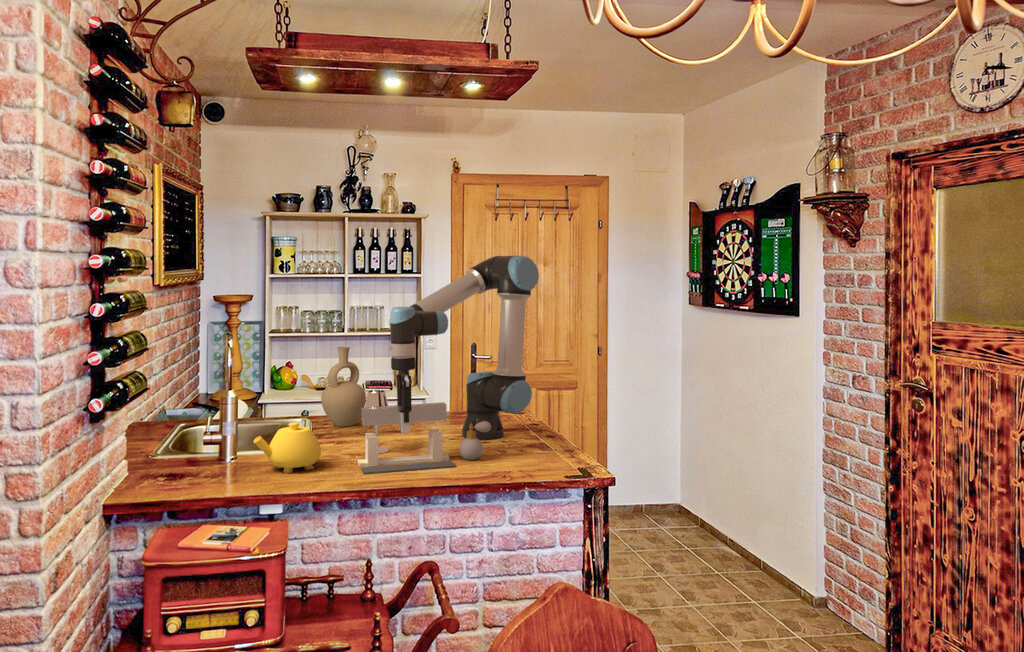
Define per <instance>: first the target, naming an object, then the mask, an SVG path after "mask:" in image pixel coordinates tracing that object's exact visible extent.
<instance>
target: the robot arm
mask: <svg viewBox="0 0 1024 652" xmlns="http://www.w3.org/2000/svg"><path fill="white" fill-rule="evenodd" d="M539 273H540V272H539V269H538V266H537V264H536V263H535V262H534V261H533V259H532V258H530V257H528V256H523V255H494V256H492V257H489V258H486V259H485V260H483V261H481V262H479V263H477V264H475V265H474V266H472V267H471V268H469V269H467V270H466V272H465V274H464V275H462V276H460V277H459V278H457V279H455V280H453V281H452V282H451V283H449V284H447V285H445V286H442V287H441V288H439V289H438V290H436V291H434V292H433V293H431V294H429V295H427V296H425V297H424V298H422V299H420V300H419V301H417V302H416V303H414V304H412V305H410V306H394V307H392V308H390V314H389V323H390V324H389V325H390V326H389V328H390V329H389V331H390V346H389V347H388V350H390V356H391V358H390V366H391V367H390V368H391V370H393V371H398V372H397V374H396V375H395V377H396V398H397V399H396V400H397V401H396V402H397V403H396V406H397V405H402V411H400V413H401V423H400V424H398V430H399V431H401V434H407V433H408V434H409V433H411V432H412V431H411V423H410V411H412V408H411V405H412V384H413V381H412V375H410V371H412V370H415V369H416V368H417V366H416V365H417V363H416V360H417V359H416V357H415V356H416V337H421V336H422V337H423V336H437V335H442V334H445V333H446V332H447V330H448V328H449V318H448V316H447V314H446V312H447V311H449V310H450V309H452V308H454V307H455V306H457V305H459V304H461V303H462V302H464V301H466V300H467V299H469V298H471V297H472V296H474V295H476V294H478V295H479V294H480V295H481V294H483V293H485V292H487V291H490V290H496V291H497V292H496V293H497V295H498V297H499V298H500V315H499V331H498V347H497V349H498V351H497V367H496V369H495V370H494V371H483V372H481V371H479V372H472V373H469V374H468V375H467V377H466V416H465V419H464V422H463V424H462V429H461V436H462V438H464V439H465V438H466V437H467V431H469V430H470V429H469V426H470V424H471V423H472V424H473V425H472V426H473V427H474V426H475V425H476V424H478V423H480V422H483V421H487V422H489V423H490V424H491V429H490V431H488V432H480V431H477V430H476V429H475V428H473V431H476V437H477V438H478V439H479V440H480V441H482V440H496V439H500V438H503V437H504V435H505V431H504V426H503V422H502V419H501V416H500V412H503V413H506V414H520V413H521V412H522V413H523V411H524V410H525V409H526V408H527V407H528V406H529V404H530V402H531V400H532V398H533V397H532V395H533V392H532V386H530V384H529V383H528V382H527V381H526V379H527V374H526V372H525V371H524V370H523V358H524V357H523V355H524V339H525V323H526V307H527V300H528V299H529V298H530V297H531V295H532V293H531V292H532V290H533V289H534V288H535V287H536V285H538V282H539V277H540V274H539Z"/></svg>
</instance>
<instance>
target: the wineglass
mask: <svg viewBox="0 0 1024 652" xmlns="http://www.w3.org/2000/svg"><path fill="white" fill-rule="evenodd" d="M382 406H389V403H388V398H387V394H386V391H385V390H383V389H372V390H371V389H370V390H368V391H367V396H366V403H365V407H364V408H367V407H382ZM379 426H380V425H373V427H375V437H376V436H378V437H379V428H380V427H379ZM388 452H389V448H386V447H381V446H380V445H379V444H378V455H381V454H384V453H385V454H386V453H388Z"/></svg>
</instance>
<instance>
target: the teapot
mask: <svg viewBox="0 0 1024 652" xmlns="http://www.w3.org/2000/svg"><path fill="white" fill-rule="evenodd" d="M253 443H254V444H255V445H256V446H257V447H258V448H259V449H260V450H261V451H262V453H264V454H265V455H266V456H267V459H268V461H269V462H270V463H271V464H272V466H275V468H276V469H283V471H282V473H284V474H291V473H293V470H294V468H304V470H306V469H312V470H314V469H315V466H313V465H314V464H316V463H317V462H318V460H319V459H320V458H321V456H322V450H321V449H322V448H321V446H320V443H319V440H318V439H317V437H316V435H315V434H314V432H313V430H311V428H310V427H307V426H300V423H299V422H295V421H294V422H289V423H288V426H287V427H282V428H279V429H278V430H277V432H276V433H275V434H274V436H273V438H272V440H271V441H270V443H269V444H268V442H266V441H265V440H264V438H263V437H262V436H259V435H258V436H256V438H254V440H253ZM313 468H314V469H313Z"/></svg>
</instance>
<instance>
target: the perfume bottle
mask: <svg viewBox="0 0 1024 652" xmlns="http://www.w3.org/2000/svg"><path fill="white" fill-rule="evenodd" d="M472 425H473V424H472V423H471V424H470V426H469V429H470V430H469V431H467V437H466V438H465V437H464V439H463V440H462V441H461V442H460V444H459V453H460V456H461V457H462V458H463V459H465V460H467V461H476V460H478V459H480V457H481V456H482V454H483V451H484V445H483V443H482V440H480V439H478V438H477V437H476V431H473V428H475V429H476V430H477V431H480V432H488V431H490V429H491V424H490V423H489V422H487V421H483V422H480V423H478V424H476V425H475V426H474V427H473V426H472Z"/></svg>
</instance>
